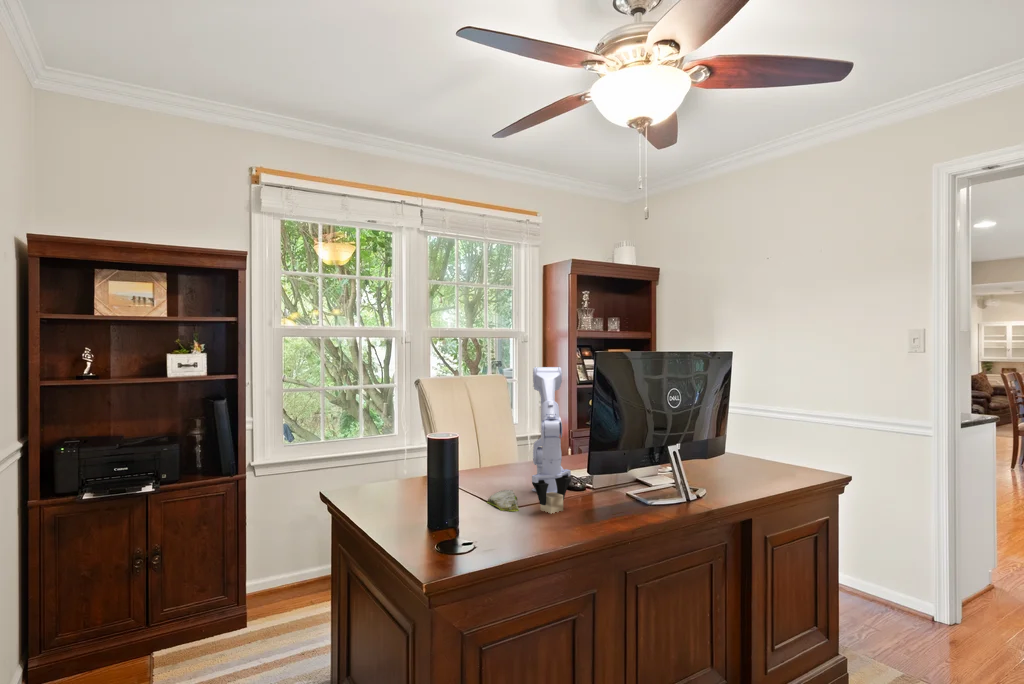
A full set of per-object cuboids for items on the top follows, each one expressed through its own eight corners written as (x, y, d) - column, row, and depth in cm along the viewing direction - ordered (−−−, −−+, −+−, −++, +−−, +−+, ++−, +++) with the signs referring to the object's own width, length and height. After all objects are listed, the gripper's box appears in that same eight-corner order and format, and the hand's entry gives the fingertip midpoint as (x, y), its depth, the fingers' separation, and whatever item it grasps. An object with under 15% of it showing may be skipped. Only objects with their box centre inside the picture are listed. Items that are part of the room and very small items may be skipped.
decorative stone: (484, 494, 197) (483, 483, 197) (513, 493, 198) (513, 482, 198) (487, 513, 174) (487, 500, 174) (520, 511, 175) (520, 499, 175)
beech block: (552, 507, 179) (552, 491, 179) (563, 511, 175) (563, 495, 175) (540, 510, 176) (540, 494, 176) (551, 514, 172) (551, 497, 172)
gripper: (542, 463, 168) (542, 509, 168) (577, 457, 177) (577, 501, 177) (527, 460, 174) (527, 504, 173) (562, 454, 182) (562, 496, 182)
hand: (551, 502), depth 175 cm, fingers open, 7 cm apart
